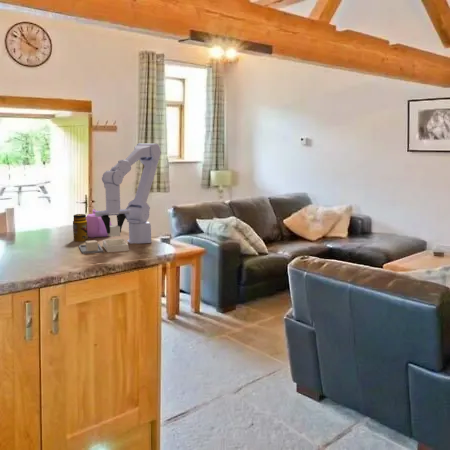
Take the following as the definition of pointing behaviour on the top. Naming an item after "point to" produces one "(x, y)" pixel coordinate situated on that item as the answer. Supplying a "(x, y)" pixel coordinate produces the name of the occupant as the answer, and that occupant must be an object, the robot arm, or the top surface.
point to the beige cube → (91, 245)
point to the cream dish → (115, 245)
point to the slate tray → (83, 250)
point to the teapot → (96, 226)
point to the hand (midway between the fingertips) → (113, 232)
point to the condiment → (80, 228)
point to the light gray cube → (114, 231)
